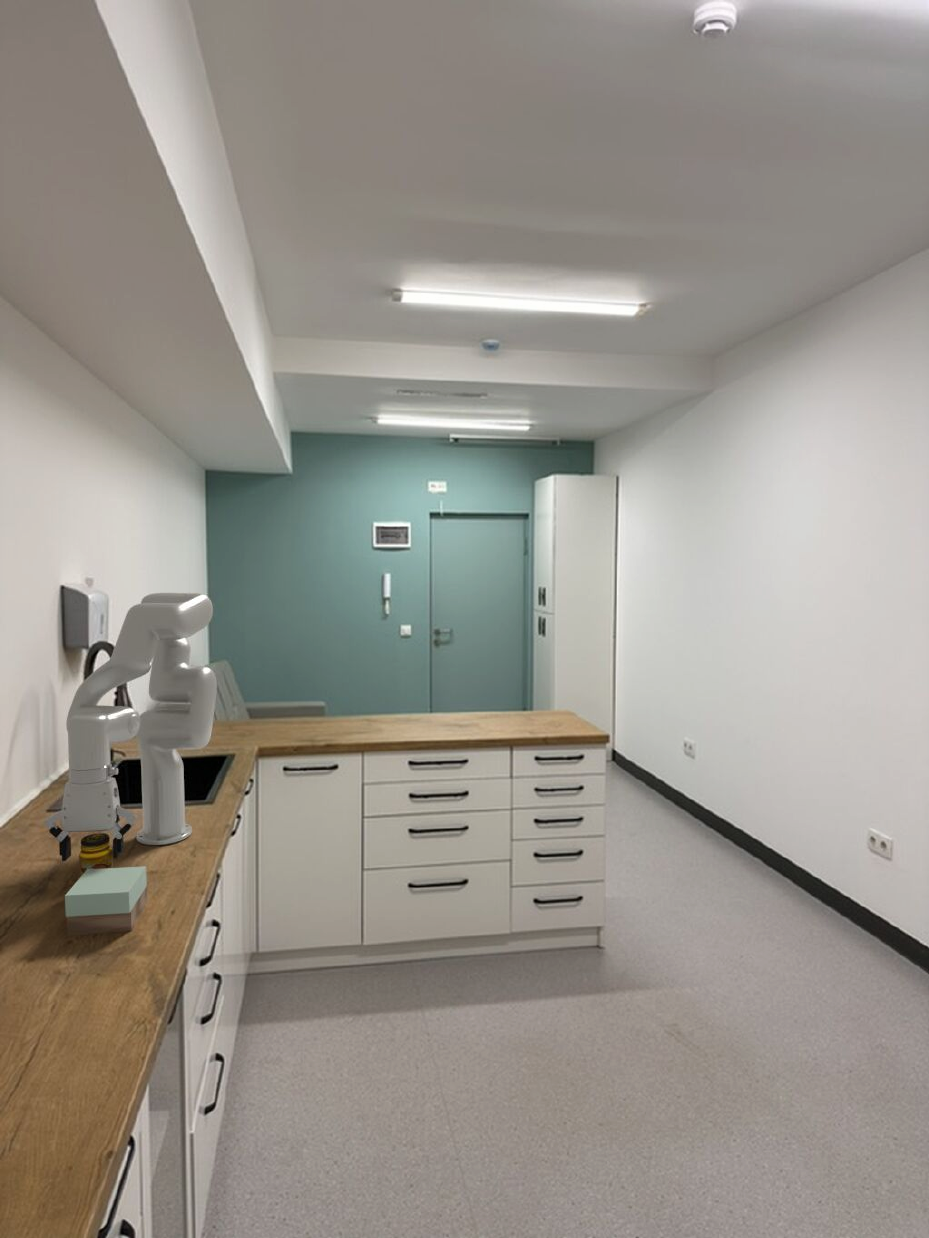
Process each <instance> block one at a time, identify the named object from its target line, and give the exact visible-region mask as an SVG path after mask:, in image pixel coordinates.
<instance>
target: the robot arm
mask: <svg viewBox="0 0 929 1238" xmlns="http://www.w3.org/2000/svg"><path fill="white" fill-rule="evenodd" d="M213 614H214V608H213V602H212V600H211V599H210V598H209V596H207V595H206V594H203V593H199V592H198V593H197V592H196V593H195V592H194V593H193V592H191V593H190V592H189V593H187V592H186V593H185V592H156V593H150V594H147V595H145V596H144V597H143V598H142V599H141V601H140V603H136V604H135V605H132V606H131V607H130V608H129V609H128V611H127V613H126V616H125V617H124V621H123V623H122V626H121V629H120V632H119V634H118V637H117V640H116V642H115V645H114V648H113V650H112V654H111V656H110V658H109V660H107V661H106V662H105V663H104V664H102V665H101V666H99V667H98V668H97V669H96V670H94V671H93V672H92V673H91V674H90V675H89V676H88V677H86V679H85V680H83V681H82V683H81V684H80V685H79V686H78V688H77V690H76V691H75V694H74V697H73V699H72V702H71V704H70V707H69V710H68V712H67V713H68V714H67V717H66V723H65V724H66V731H67V743H68V744H67V745H68V747H67V748H68V751H67V752H68V781H66V783H65V786H64V792H63V798H62V806H61V810H59V811H58V812H56V813H54V814H52V815H49V816H48V817H46V818H45V819H44V821H43V823H44V825H45V827H46V828H47V830H48V831H49V834H51V835H52V836H53V837H54V838H55V839H56V841H57V842H59V843H58V846H59V847H58V848H59V849H58V850H59V856H61V861H62V862H66V861H67V860H68V859H70V857H71V856H72V838H71V836H69V834H70V833H82V832H83V833H84V832H85V833H87V832H88V833H89V832H105V831H109V832H110V834H111V835H112V836H113V837H114V838H113V839H112V859H113V858H114V859H118V858H119V857H120V856H121V854H122V853H123V852H124V848H125V846H124V844H125V843H124V841H125V840H124V839H125V838H124V835H126V834H127V833H128V831H130V829H132V827H133V826H134V823H135V822H136V819H137V817H138V814H137V813H135V812H133V811H131V810H128V809H126V808H124V807H121V801H120V796H119V795H120V793H119V789H118V787H119V786H118V783H117V781H116V778H115V777H113V776H114V775H118V774H119V767H113V766H112V763H111V745H112V744H119V743H124V742H128V741H130V740H132V739H133V738H135V737H136V742H137V745H138V749H139V755H140V766H141V768H140V770H141V773H140V774H141V797H142V798H141V802H142V828H141V829H139V830H138V832H137V833H136V841H137V842H138V843H140V844H144V845H145V846H146V845H148V846H161V845H162V846H163V845H169V844H174V843H177V842H178V843H179V842H181V841H183V840H185V839H187V838H188V837H190V836H191V834H192V833H193V828H192V826H191V824H189V823H186V813H185V812H186V811H185V810H186V809H185V808H186V807H185V779H184V776H185V775H184V770H185V769H184V762H183V760H182V757H181V755H180V753H179V752H178V750H200V749H203V748H205V747H206V746H207V745H208V743H209V742H210V740H211V736H212V731H213V725H214V716H215V709H216V701H217V694H218V693H217V689H218V682H217V678H216V673H215V672H214V670H213V669H211V668H210V667H208V666H205V665H204V666H203V665H190V657H191V644H190V642H189V640H188V638H190V637H192V636H194V635H195V634H197V633H198V632H199V631H202V630H203V629H204V628H205V627H207V626H208V625H209V624H210V622H211V621H212V618H213ZM149 672H150V675H149V682H148V695H149V697H150V699H151V700H152V701H153V702H155V703H158V704H172V705H190V709H179V708H153V709H148V710H146V711H144V712H142V713H141V714H139V712H138V710H136V709H135V708H132V707H130V706H125V705H124V706H123V705H119V706H118V705H98V703H99V702H100V701H101V699H102V698H103V697H104V696H105V695H106V694H107V693H109V692H110V691H112V690H114V689H115V688H118V687H119V686H122V685H124V684H127V683H129V682H132V681H134V680H136V679H139V678H141V677H143V676H145V675H146V674H148V673H149ZM121 817H122V818H123V819H124V818H125V819H126V822H125V824H124V826H122V824H120V823H119V822H120V821H121V819H122V818H121ZM58 820H61V828H60V827H59V826H58V825H57V824H56V821H58Z"/></svg>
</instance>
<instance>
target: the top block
mask: <svg viewBox="0 0 929 1238" xmlns="http://www.w3.org/2000/svg"><path fill="white" fill-rule="evenodd" d="M147 884H148V881H147V866H145V865H144V866H128V867H126V866H125V867H113V868H105V869H87V870H86V871H85V873H84V874H83V875H82V876H81V877H79V878H78V880H76V882H75V883H74V884H73V885H72V887H71V888H70V889H69V890H68V891H67V893H66V894H65V895H64V906H65V918H67V917H71V916H87V915H104V914H120V913H130V912H131V910H132V908H133V907H134V905H135V904H136V902H137V900H138V899H139V897H140V896H141V894H142V893H143V891H144V889H145V888H146V886H148V885H147Z"/></svg>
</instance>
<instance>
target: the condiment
mask: <svg viewBox="0 0 929 1238" xmlns="http://www.w3.org/2000/svg"><path fill="white" fill-rule="evenodd" d="M110 841H111V839H110V835H109V834H107V833H105V832H96V833H91V834H88V835H85V836H83V837H82V838H81V839H80V852H79V855H78V860H79V862H78V864H79V871H78V872H79V878H80V877H81V876H82V875H83V874H84V873H85V871H86V870H87V869H105V868H114V862H113V861H114V860H113V847H112V846H111V842H110Z"/></svg>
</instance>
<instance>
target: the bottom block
mask: <svg viewBox="0 0 929 1238" xmlns="http://www.w3.org/2000/svg"><path fill="white" fill-rule="evenodd" d="M147 886H148V885H147ZM147 886H146V888H145V889H144V891H143V893H142V894H141V896H140V897H139V899H138V900H137V902H136V904H135V905H134V907H133V908H132V910H131V912H130V913H120V914H104V915H87V916H71V917H66V928H67V930H66V931H67V933H66V934H67V937H68V936H69V937H70V936H82V935H96V934H97V935H98V934H107V933H108V934H109V933H110V934H111V933H124V932H132V931H133V929H134V927H135V925H136V924H137V922H138V920H139V918H140V917H139V916H141V915H140V914H142V913H143V911H142V910H144V909H145V907H146V906H145V904H146V903H147V904H148V893H147V888H148V887H147ZM147 904H146V905H147ZM143 908H144V909H143ZM141 912H142V913H141Z"/></svg>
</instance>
